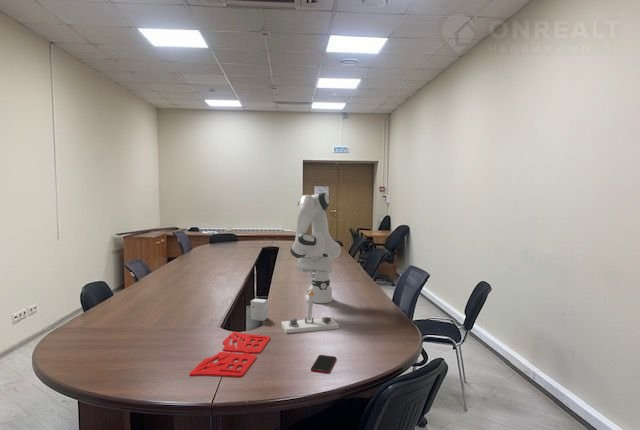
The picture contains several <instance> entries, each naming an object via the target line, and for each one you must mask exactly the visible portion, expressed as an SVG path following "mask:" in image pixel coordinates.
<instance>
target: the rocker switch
mask: <svg viewBox="0 0 640 430" xmlns="http://www.w3.org/2000/svg"><path fill="white" fill-rule="evenodd" d="M321 318H322V321H325V322H327V321H331V318H332V317H331V318H330V317H329V316H327V317H326V316H324V317H321Z"/></svg>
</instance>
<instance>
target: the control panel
mask: <svg viewBox="0 0 640 430" xmlns="http://www.w3.org/2000/svg"><path fill="white" fill-rule="evenodd" d="M322 318H323V317H320V318H314V317H311V321H308V320H307V319H308V316H307V317H305V318H304V319H297V324H290V320H285V321H284V320H282V321H281V322H280V323H281V327H282V328H283V331H284V332H285V334H292V333H301V332H302V333H303V332H305V333H306V332H313V331H325V330H334V329H339V325H340V324H339V323H338V322H336V321H335V319H333V317H329V318H331V321H327V322H325V321H322Z"/></svg>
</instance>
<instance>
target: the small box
mask: <svg viewBox="0 0 640 430" xmlns="http://www.w3.org/2000/svg"><path fill="white" fill-rule="evenodd" d="M268 307H269V305H268V299H263V298H262V299H261V298H254V299H252V300H250V320H251V321H262V322H264V321H266V320H267V319H268V317H269V316H268V313H269V312H268Z"/></svg>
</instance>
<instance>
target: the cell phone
mask: <svg viewBox="0 0 640 430" xmlns="http://www.w3.org/2000/svg"><path fill="white" fill-rule="evenodd" d="M336 361H337V357H336V356H333V355H326V354H325V355H324V354H319V355H317V358H316V360H315V361H314V363H313V364H312V366H311V368H310V371H311V372H314V373H321V374H330V373H331V371H332V369H333V367H334V365H335V363H336Z"/></svg>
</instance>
